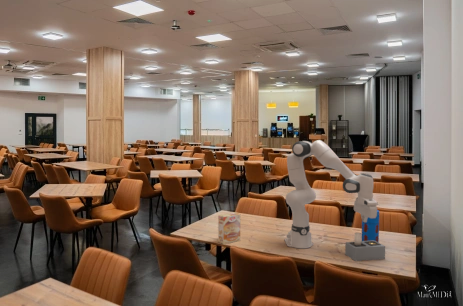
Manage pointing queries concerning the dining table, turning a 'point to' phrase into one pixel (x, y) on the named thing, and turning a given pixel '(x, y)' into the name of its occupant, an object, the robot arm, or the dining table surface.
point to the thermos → (371, 229)
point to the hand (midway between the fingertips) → (364, 221)
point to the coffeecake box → (229, 228)
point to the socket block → (365, 251)
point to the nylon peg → (357, 239)
